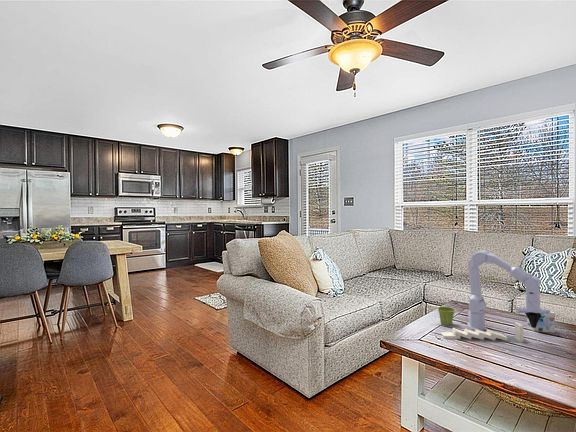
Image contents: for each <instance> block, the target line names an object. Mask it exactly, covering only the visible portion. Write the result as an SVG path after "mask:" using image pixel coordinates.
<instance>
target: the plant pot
mask: <svg viewBox="0 0 576 432" xmlns="http://www.w3.org/2000/svg"><path fill="white" fill-rule="evenodd" d="M436 309H437V310H438V313H439V314H438V315H439V319H440V320H439V321H440V323H441V324H442V325H446V326H447V325H449V326H451V325H452V324H453V323H454V322H453V321H454V315H455V312H456V309H455V308H453V307H449V306H439V307H437V308H436Z"/></svg>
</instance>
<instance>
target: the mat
mask: <svg viewBox="0 0 576 432" xmlns="http://www.w3.org/2000/svg"><path fill="white" fill-rule="evenodd" d="M505 336H506V337H507V338H508V340H507V341H505V340H502V339H499V338H496V339H495V340H492V339H488V338H485V337H484V340H481V339H478V338H475V337H472V338H471V339H468V338H465V337H462V336H460V339H456V340H457V341H465V342H466V341H467V342H468V341H469V342H489V343H490V342H492V343H514V344H516V343H517V344H531V342H530V341H528V340H527V339H526V338H525V337H523V338H524V342H520V341H518V340H517V339H516V338H515V335H514V336H511V335H509V336H507V335H505Z"/></svg>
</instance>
